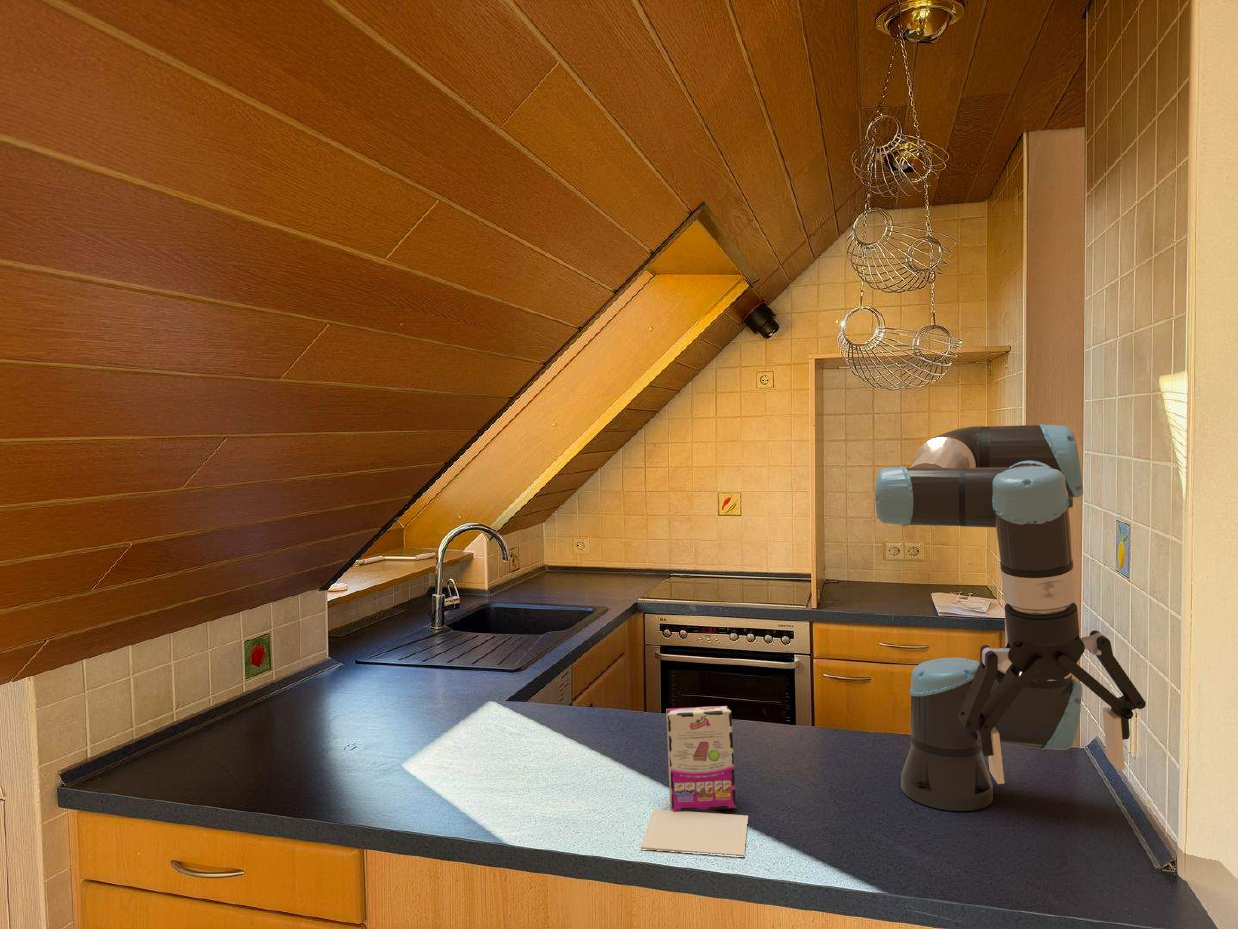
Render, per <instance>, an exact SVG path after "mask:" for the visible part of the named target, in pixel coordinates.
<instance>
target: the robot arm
mask: <svg viewBox="0 0 1238 929" xmlns="http://www.w3.org/2000/svg"><path fill="white" fill-rule="evenodd" d="M1082 476H1083V475H1082V468H1081V462H1080V455H1079V449H1078V444H1077V439H1076V435H1075V433H1074V430H1072V429H1071V428H1070V427H1068V426H1067V425H1066V426H1065V425H1059V424H1056V425H1053V424H1042V423H1041V424H1021V425H1019V424H1018V425H1017V424H1016V425H993V426H992V425H991V426H990V425H989V426H988V425H987V426H985V425H984V426H982V425H974V426H967V427H962V428H957V429H954V430H951V431H950V430H949V431H947V432H944V433H941V434H939V435H936V436H934V437H932V438H930V439H929V440H927V441H926V442H924V443H923V444H922V445H921V446H920V447H919V448H918V449H917V451H916V453H915V454H914V458H913V462H912V465H910V466H909V467H906V466H901V465H899V466H897V467H884V468H881V469H880V470H879V471H878V473H877V475H876V479H875V488H874V489H875V491H874V496H875V497H874V502H875V503H874V504H875V512H876V517H877V518H878V520H879V521H880V522H881V523H883V524H888V525H899V526H902V527H908V526H936V527H937V526H942V527H943V526H946V527H970V528H971V527H972V528H996V530H995V531H996V538H997V545H998V551H999V553H998V554H999V559H1000V560H999V564H1000V567H999V568H1000V577H1001V588H1002V590H1001V591H1002V599H1003V601H1004V648H1003V647H1000V648H991V647H990V646H989V645H988V644H983V645H982V646H981V647H980V648H979V661H978V660H976V659H969V658H966V657H945V658H944V657H943V658H940V657H939V658H935V659H930V660H926V661H923V662H921V663H919V664H918V665H916V666H915V667H914V668H913V670H912V672H911V677H910V678H911V679H910V680H911V681H910V689H909V695H910V713H911V714H910V715H911V717H910V725H911V726H910V734H911V736H910V740H911V741H910V748H909V751H908V754H907V756H906V760H905V762H904V765H903V768H902V771H901V776H900V781H901V782H900V788H901V791H902V793H904V794H905V795H906V796H907V798H909V799H911V800H912V801H915V802H916V803H919V804H921V805H923V806H926V807H930V808H934V809H938V810H944V811H952V812H967V811H978V810H982V809H984V808H987V807H988V806H989V805H991V804H992V802H993V800H994V786H993V782H992V780H991V776H992V777H993V779H994V780H995V782H996V783H997V785H1003V784H1005V776H1004V765H1003V757H1002V756H1003V755H1002V747H1001V746H1002V745H1001V744H1007V745H1013V746H1021V747H1029V748H1035V749H1040V750H1041V751H1042V750H1058V751H1066V750H1069V749H1070V748H1072V747H1073V746H1074V744H1075V742H1076V739H1077V735H1078V730H1079V725H1080V719H1081V710H1082V700H1083V699H1082V698H1083V685H1084V686H1085V687H1086V688H1088V689H1089V690H1090V691H1091V692H1093V693H1094V694H1095V695H1097V697H1098V698H1100V700H1102V701H1103V702H1104V703H1106V704H1107V705H1108V707H1102V719H1103V729H1104V741H1105V742H1104V744H1105V752H1106V759H1107V760H1108V761H1109V762H1110V763H1111V764H1112V765H1113V767H1114V768H1116V770H1117V771H1122V770H1125V768H1126V765H1125V757H1124V755H1125V754H1124V744H1123V740H1124V741H1125V740H1129V739H1130V735H1131V734H1130V732H1131V731H1130V720H1131V719H1133V717H1134V710H1135V709H1137V710H1143V709H1144V708H1145V707H1146V706H1147V704H1146V701H1145V699H1144V698H1143V696H1142V695H1141V693H1140V692H1139V690H1138V689H1137V688H1136V686H1135V684H1134V683H1133V682H1132V681H1131V679H1130V677H1129V676H1128V674H1127V673H1126V671H1125V670H1124V669H1123V667H1122V666H1121V664H1120V663H1119V662H1118V660H1117V659H1116V657H1115V656H1114V653H1113V648H1112V643H1111V640H1110V639H1109V638H1108V637H1107V636H1106V635H1104V634H1103V633H1101V631H1100V632H1099V630H1096V629H1095V630H1091V631H1090V633H1089V635H1087V636H1083V637H1080V623H1079V613H1078V612H1079V610H1078V606H1077V604H1076V603H1075V601H1076V599H1077V591H1076V581H1075V579H1076V578H1075V571H1074V570H1075V568H1074V560H1073V552H1072V551H1073V550H1072V549H1073V548H1072V534H1071V533H1072V532H1071V524H1070V523H1071V520H1070V512H1071V510H1073V509H1074V498H1076V499H1077V498H1078V499H1079V497H1082V496H1083V495H1084V487H1083V486H1084V485H1083V477H1082ZM1085 650H1087V651H1088V652H1089V653H1091V654H1092V655H1094V656H1096V658H1097V659H1098V662H1100V664H1101V665H1102V667H1103V668H1104V670H1106V672H1107V674H1108V675H1109V676H1110V678H1111V680H1112V681H1113V683H1114V685H1116V686H1117V689H1119V691H1120V692H1121V694H1122V695H1121V696H1118V697H1117V696H1116V695H1115V694H1114V693H1113V692H1111V691H1110V690H1109V689H1108V688H1106V687H1105V686H1104V685H1103V684H1101V682H1099V681H1098V680H1097V679H1096V678H1095V677H1093V676H1092V675H1091V674H1090V673H1089V672H1088V671H1086V670H1085V669H1084V668H1083V667H1082V666H1080V665H1079V664H1078V662H1079V660H1080V659H1081V658H1082V656H1083V654H1084V652H1085ZM1073 677H1075V678H1073ZM1082 684H1083V685H1082ZM984 757H988V758H987V759H988V766H989V768H987V764H986V762H985V758H984ZM988 769H989V770H988ZM989 773H990V774H991V776H990V774H989Z"/></svg>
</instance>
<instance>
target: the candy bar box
mask: <svg viewBox="0 0 1238 929" xmlns="http://www.w3.org/2000/svg"><path fill="white" fill-rule="evenodd" d="M665 710H666V712H665V713H666V714H665V716H666V735H667V737H666V738H667V739H666V740H667V761H668V782H669V784H668V785H669V799H670V800H669V801H670V802H671V803H670V805H671V810H672V811H687V812H688V811H704V810H723V809H725V810H727V809H735V808H736V807H737V799H736V798H737V797H736V779H735V778H736V776H735V760H734V742H733V741H734V736H733V721H732V720H733V719H732V718H733V717H732V710H730V708H729V707H728V706H727V705H721V706H718V705H717V706H699V707H698V706H697V707H694V706H693V707H678V708H677V707H676V708H666V709H665Z"/></svg>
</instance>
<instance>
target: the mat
mask: <svg viewBox="0 0 1238 929" xmlns="http://www.w3.org/2000/svg"><path fill="white" fill-rule="evenodd" d="M748 823H749V815H747V814H745V815H743V814H728V813H714V812H702V811H701V812H699V811H688V810H687V811H673V810H672V809H671V810H669V809H668V810H667V809H657V808H656V809H655V808H654V809H653V811H652V812H651V816H650V819H649V821H648V824H647V828H646V831H645V834H644V837H643V839H642V842H641V845H640V850H641V849H647V850H660V851H661V850H662V851H674V852H695V853H698V852H699V853H708V854H711V853H712V854H722V855H725V854H726V855H736V856H744V854H745V855H746V847H745V844H747V836H746V834H748V826H747V824H748Z"/></svg>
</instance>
